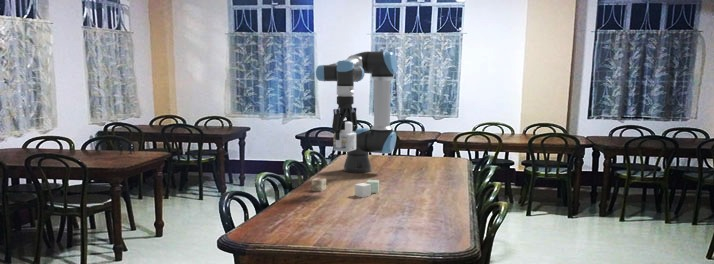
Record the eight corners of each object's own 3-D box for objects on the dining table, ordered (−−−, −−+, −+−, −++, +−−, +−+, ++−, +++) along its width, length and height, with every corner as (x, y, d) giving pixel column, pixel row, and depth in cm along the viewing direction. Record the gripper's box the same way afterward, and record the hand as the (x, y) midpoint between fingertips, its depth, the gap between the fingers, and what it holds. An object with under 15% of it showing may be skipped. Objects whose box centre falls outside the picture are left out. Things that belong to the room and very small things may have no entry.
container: (333, 150, 234) (333, 121, 233) (341, 148, 241) (341, 120, 239) (348, 152, 231) (348, 122, 229) (356, 149, 238) (356, 121, 236)
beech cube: (311, 190, 238) (311, 179, 237) (316, 188, 242) (316, 177, 242) (321, 191, 236) (321, 180, 235) (326, 189, 240) (326, 178, 240)
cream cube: (354, 195, 229) (354, 184, 228) (363, 193, 232) (363, 182, 232) (362, 197, 225) (362, 186, 225) (370, 195, 229) (371, 184, 228)
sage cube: (366, 192, 234) (366, 181, 234) (368, 190, 239) (368, 179, 239) (377, 193, 234) (378, 182, 233) (378, 190, 239) (379, 180, 238)
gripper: (336, 96, 222) (336, 149, 225) (366, 95, 239) (365, 144, 242) (323, 96, 227) (323, 147, 230) (353, 94, 243) (352, 142, 246)
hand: (344, 146), depth 236 cm, fingers closed on container, 8 cm apart
